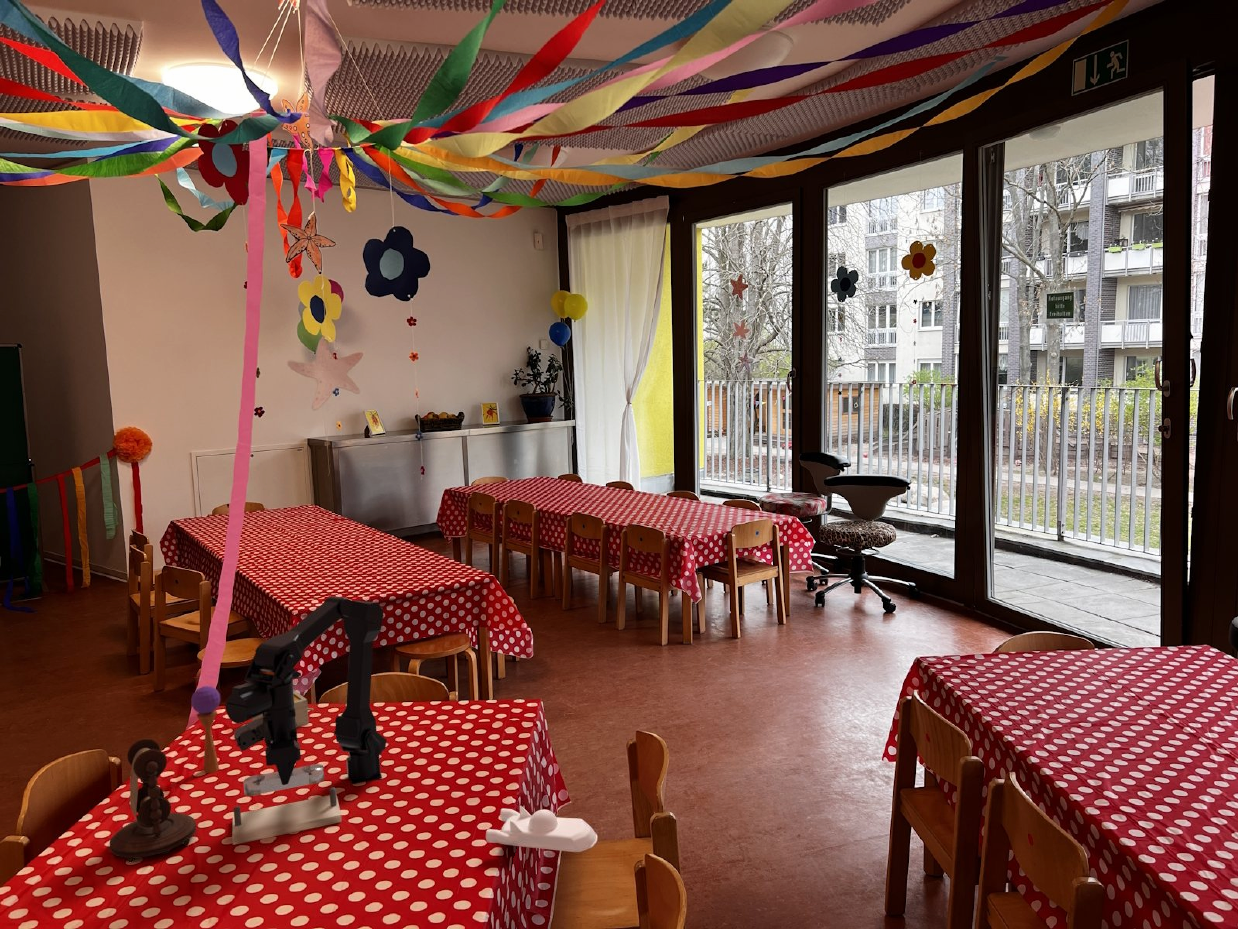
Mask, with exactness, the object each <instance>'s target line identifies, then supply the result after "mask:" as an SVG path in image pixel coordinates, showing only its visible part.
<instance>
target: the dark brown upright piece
mask: <svg viewBox="0 0 1238 929" xmlns="http://www.w3.org/2000/svg"><path fill="white" fill-rule="evenodd" d="M127 761H128V763H129V765H130V766H131V770H130V782H129V791H130V792H129V801H130V803H129V805H130V808H131V809H130V810H131V812H132V814H133V817H134V818H135V820H134V821H132V822H130V823H128V824H126V825H125V826H122V828H120V829H119V830H117V831H116V832H115V833H114V834H112V836H111V837H110V840H109V850H110V853H112V854H113V855H114V856H116V857H119V858H127V861H128V863H129V862H131V863H133V862H135V858H145V857H150V856H155V855H158V854H161V853H165V852H167V851H169V850H173V849H175V848H177V847H179V846H181V845H182V844H183V845H184V846H185V847H187V846H189V843H190V838H192V837H193V836H194V834H195V833H196V830H197V825H196V824H197V823H196V820H195V818H194V817H192V816H191V815H189V814H184V813H180V812H171V811H172V805H171V802H170V800H169V799H167V798H165V793H164V790H163V789H162V788H161V787H160V785H158V782H159V781H158V778H159V777H160V776H161V774H162V773H163V772H164V771H165V770H166V767H167V764H168V763H167V762H168V759H167V756H166V754H165V752H163V751H162V750H161V748H160V745H159V743H158V742H157V741H155V740H153V739H151V738H143V739H139V740H137V741H135V742H134V743H133V744H132V745H131V746H130V747H129V749H128V752H127ZM139 780H140V782H141V787H140V788H139Z"/></svg>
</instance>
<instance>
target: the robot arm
mask: <svg viewBox="0 0 1238 929" xmlns="http://www.w3.org/2000/svg"><path fill="white" fill-rule="evenodd" d="M383 619H384V609H383V607H382V606H381V605H380V604H379V603H377V602H372V601H362V600H354V599H349V598H347V597H343V596H334V595H333V596H328V597H327V598H325V599H324V601H323V603H322V604H321V605H319V606H318V607H316V609H314V610H313V611H312V612H311V613H309V614H308V615H307V616H305V617H304V618H303V619H302V620H301V621H300V622H298V623H296V625H295V626H294V627H292V628H291V629H290V630H288V631H287V632H283V633H281V634H277V635H275V636H272V637H271V638H268V639H267V640H264V641H263V642H262V643H259V645H258V646H257V647H256V649H255V652H254V655H253V658H252V660H251V662H250V665H249V667H248V668H247V671H246V673H245V676H244V678H243V680H244V681H245V683H243V684H241V685H235V686H233V687H232V688H231V694H230V695H229V696H228V697H227V698H226V702H225V704H224V708H225V712H226V715H227V717H228V718H229V719H230V721H232V722H233V723H235V724H237V725H239V724H243V723H245V722H246V721H249V720H251V721H250V722H247V723H246V724H244V725H241V726H240V727H238V728H237V729H235V730H234V732H233V733H234V734H233V738H234V740H235V742H236V746H237V747H239V749H240V751H241V752H243V751H246V750H249V748H250V747H252V746H254V745H256V744H258V743H260V742H262V741H264V744H265V746H266V748H265V751H264V752H265V764H266V766H269V767H270V766H275V767H276V770H277V772H278V773H279V776H280V779H281V783H282V785H286V784H288V783H289V780H290V777H291V774H292V772H293V769H294V768H295V766H296V764H297V762H298V761H300V760H302V757H301V755H302V754H301V747H300V746H301V745H300V742H298V729H297V728H298V727H297V724H296V718H295V716H296V714H295V705H294V691H295V690H294V681H293V680H294V679H298V678H300V677H301V676H302V673H301V672H299V671H297V670H296V668H295V667H296V666H297V665H298V664H299V662H300V661H301V660H302V659H303V656H304V652H305V650H306V649H307V648H308V647H309V646H310V645H312V643H314V642H315V641H316V640H317V639H318V638H319V637H321V636H322V635H323V634H324V633H325V632H326V631H327V630H329V629H330V628H331V627H332V626H334V625H335V624H336V623H337V622H338V621H340V620H342V621H343V623H342V624H343V631H344V632H345V634H346V637H347V638H348V641H349V652H348V653H349V654H348V655H349V656H348V673H347V687H346V688H347V689H346V690H347V691H346V704H345V709H344V710H343V712H341V713H342V714H340V715H337V716H336V717H335V720H334V721H335V722H334V723H335V729H334V732H333V735H334V736H335V739H336V742H337V743H338V744H339V747H340V749H341V751H342V752H346V753H348V757H346V771H347V779H348V780H349V781H350V783H351V784H352V785H356V784H362V783H367V782H370V781H376V780H382V778H383V776H382V773H381V760H380V758H381V757H380V755H381V754H382V752H383V751H384V750H386V747H387V739H386V738H385V737H384V736H383V735H381V734H380V733H379V732H378V731H377V721H376V720H377V719H376V717H375V715H374V713H373V711H372V709H371V707H370V706H371V705H370V703H371V688H372V685H371V684H372V672H373V670H372V668H373V650H374V641H375V640H376V638H377V637H378V635H379V633H380V632H381V630H382V625H383ZM261 671H262V672H268V673H269V674H268V673H262V672H261ZM270 673H274V674H270ZM293 690H294V691H293ZM261 714H263V717H261V718H259V719H256V720H254V721H252V718H254V717H256V716H258V715H261Z"/></svg>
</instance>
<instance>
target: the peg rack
mask: <svg viewBox="0 0 1238 929" xmlns="http://www.w3.org/2000/svg"><path fill="white" fill-rule="evenodd" d="M337 795H338V794H337V790H336V787H330V788H329V795H324V796H319V797H314V798H310V799H304V800H300V801H295V802H289V803H284V804H280V805H275V806H270V807H264V808H259V809H254V810H250V811H249V810H248V811H244V812H241V806H239V805H237V806H234V807H233V814H232V836H231V838H232V845H238V844H243V843H248V842H249V843H250V842H253V841H258V840H262V839H267V838H271V837H277V836H282V835H286V834H290V833H296V832H300V831H305V830H310V829H314V828H315V829H316V828H320V827H325V826H328V825H329V826H330V825H333V824H338V823H342V814H341V809H340V805H339V799H338V796H337Z"/></svg>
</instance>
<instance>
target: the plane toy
mask: <svg viewBox="0 0 1238 929" xmlns="http://www.w3.org/2000/svg"><path fill="white" fill-rule="evenodd" d="M500 820H501V822H504V824H503V826H502V827H501V830H499V829H491V828H488V829H487V830H486V833H485V839H486V842H487V843H495V844H496V843H498V844H501V845H507V846H514V847H515V846H516V847H517V846H518V847H522V848H523V847H524V848H533V849H544V850H545V849H546V850H551V851H553V850H554V851H561V852H562V851H563V852H573V853H580V852H581V853H582V852H583V851H586V850H589V849H591V848H593V847H594V846H595V845H596V843H597V842H598V834H597V833H596V831H595V830H594V829H593V827H592V826H591V825H589V824H588V823H587V822H586V821H585V820H583V819H582V818H569V817H556V815H555V814H554V812H552V811H551V810H549V809H539V810H537V811H535V812H534V813H533V814H532V815H531V814H530V813H529V812H528V811H527V810H526V809H525V808H524V807H523V806H522V805H519V812H518V811H516V810H514V809H511V808H501V809H500Z"/></svg>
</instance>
